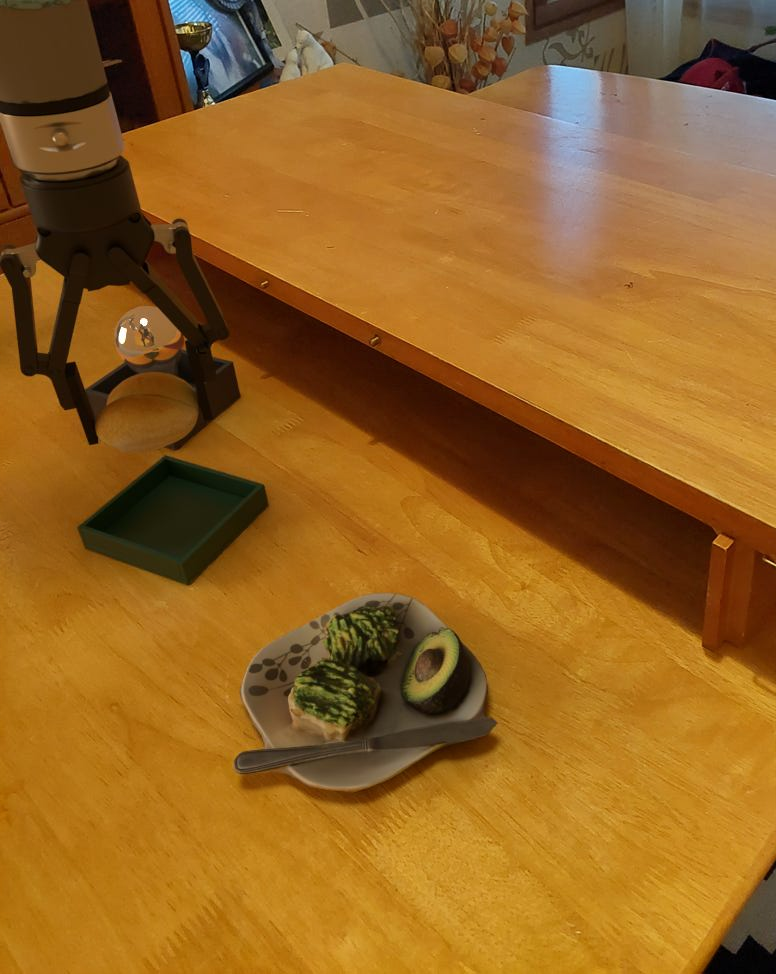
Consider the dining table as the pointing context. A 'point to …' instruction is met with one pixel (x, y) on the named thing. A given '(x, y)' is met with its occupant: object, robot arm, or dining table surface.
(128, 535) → the tray
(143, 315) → the light bulb
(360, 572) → the dining table surface
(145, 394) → the bread roll
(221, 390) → the bin
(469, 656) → the avocado toast plate
